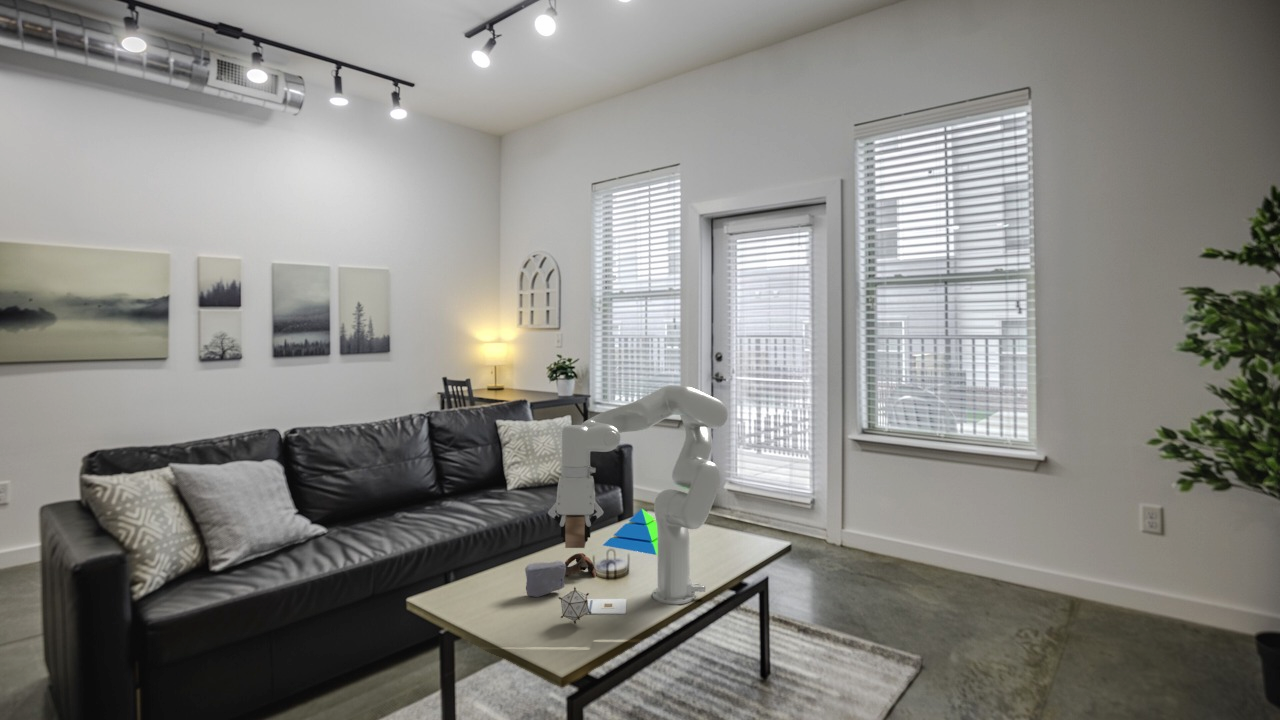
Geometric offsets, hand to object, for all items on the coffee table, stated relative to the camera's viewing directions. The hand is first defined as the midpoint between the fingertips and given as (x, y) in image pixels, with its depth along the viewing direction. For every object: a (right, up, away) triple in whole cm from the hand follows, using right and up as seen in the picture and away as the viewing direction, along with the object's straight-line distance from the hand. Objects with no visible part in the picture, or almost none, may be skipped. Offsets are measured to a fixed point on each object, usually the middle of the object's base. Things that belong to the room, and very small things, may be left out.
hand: (575, 539), depth 166 cm
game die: (0, -23, 0) cm, 23 cm away
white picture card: (+7, -22, +11) cm, 26 cm away
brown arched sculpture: (-1, -23, +37) cm, 44 cm away
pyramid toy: (+18, -23, +70) cm, 76 cm away
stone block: (-11, -23, +19) cm, 32 cm away
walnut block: (0, -1, 0) cm, 1 cm away
